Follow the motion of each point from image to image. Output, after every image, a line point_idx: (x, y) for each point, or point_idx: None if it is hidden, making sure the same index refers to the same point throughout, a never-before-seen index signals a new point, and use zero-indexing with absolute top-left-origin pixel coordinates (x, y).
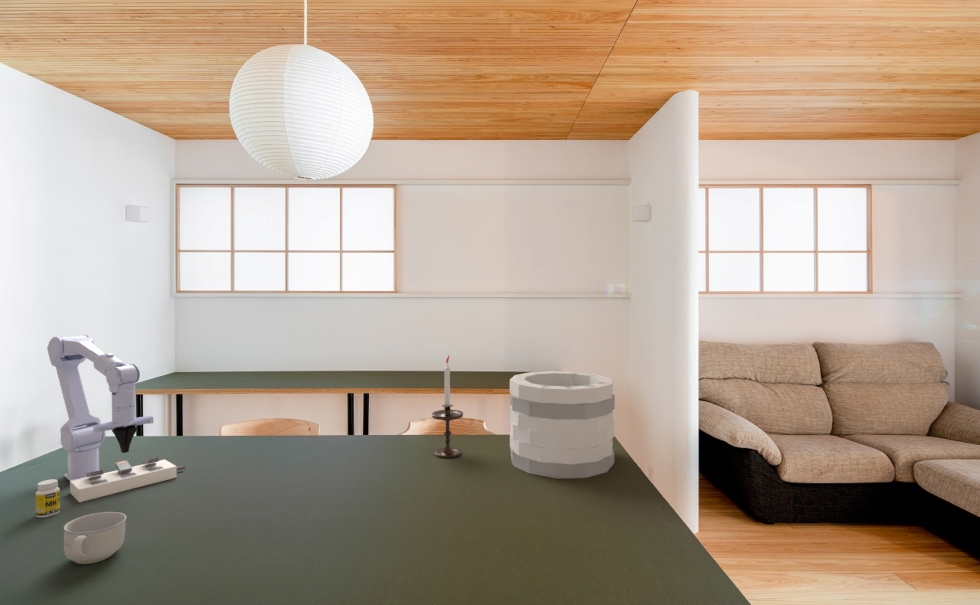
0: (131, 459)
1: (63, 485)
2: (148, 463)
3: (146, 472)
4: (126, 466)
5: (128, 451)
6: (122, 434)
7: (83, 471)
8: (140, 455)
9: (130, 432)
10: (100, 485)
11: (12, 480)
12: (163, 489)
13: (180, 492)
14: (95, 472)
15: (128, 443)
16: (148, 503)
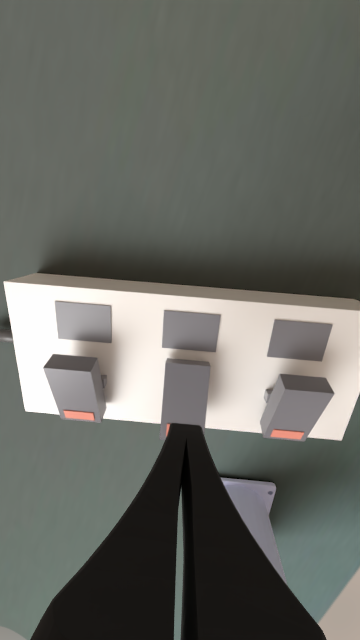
0: (97, 538)
1: (293, 482)
2: (95, 358)
3: (126, 305)
4: (179, 387)
5: (170, 425)
6: (244, 597)
7: (249, 509)
8: (70, 548)
9: (137, 597)
10: (307, 305)
11: (335, 590)
12: (113, 165)
13: (71, 36)
14: (313, 388)
15: (168, 469)
16: (222, 7)
